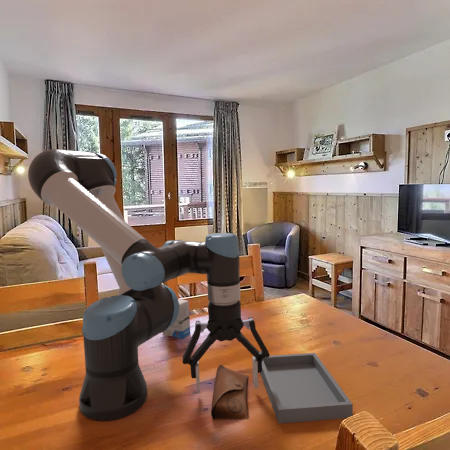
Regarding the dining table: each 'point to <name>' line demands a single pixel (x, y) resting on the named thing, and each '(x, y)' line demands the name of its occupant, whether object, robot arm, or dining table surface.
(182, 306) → the ink box
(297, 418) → the holder
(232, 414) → the sunglasses case
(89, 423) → the dining table surface
